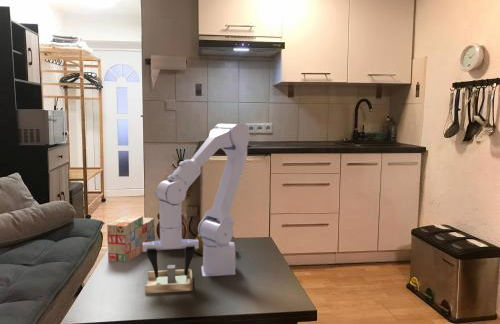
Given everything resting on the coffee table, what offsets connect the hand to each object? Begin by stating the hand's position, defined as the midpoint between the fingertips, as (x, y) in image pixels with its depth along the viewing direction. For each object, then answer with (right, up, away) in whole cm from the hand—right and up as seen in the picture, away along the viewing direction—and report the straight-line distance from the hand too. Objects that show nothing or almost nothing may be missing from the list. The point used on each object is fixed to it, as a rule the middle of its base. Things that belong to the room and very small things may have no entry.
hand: (171, 275), depth 108 cm
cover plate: (0, -2, 0) cm, 2 cm away
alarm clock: (-6, 0, +34) cm, 34 cm away
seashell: (+9, 0, +29) cm, 30 cm away
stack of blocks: (-18, 0, +28) cm, 33 cm away
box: (0, -3, 0) cm, 3 cm away
